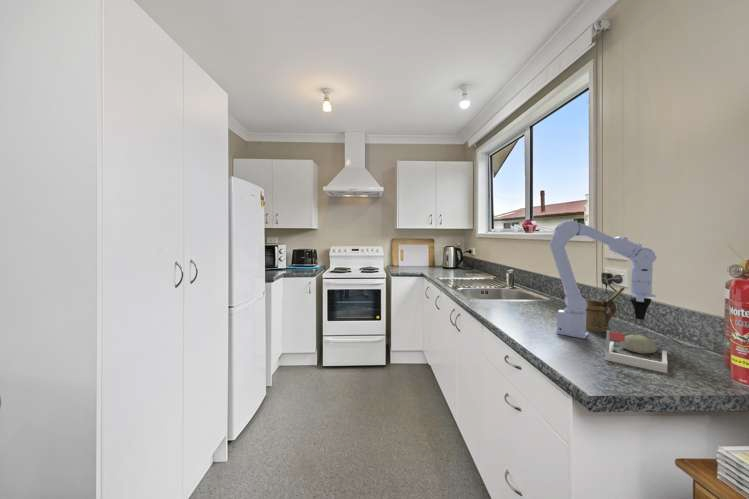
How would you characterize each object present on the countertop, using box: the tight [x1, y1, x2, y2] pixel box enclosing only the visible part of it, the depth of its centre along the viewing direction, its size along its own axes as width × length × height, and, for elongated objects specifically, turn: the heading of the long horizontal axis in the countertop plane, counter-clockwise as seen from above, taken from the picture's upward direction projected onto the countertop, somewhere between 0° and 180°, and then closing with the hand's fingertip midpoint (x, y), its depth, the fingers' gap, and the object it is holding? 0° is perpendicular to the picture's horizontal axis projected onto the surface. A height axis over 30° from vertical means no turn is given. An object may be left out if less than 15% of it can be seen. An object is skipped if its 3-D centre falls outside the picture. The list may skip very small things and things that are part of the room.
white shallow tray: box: [604, 330, 668, 374], centre depth 97 cm, size 14×14×9 cm
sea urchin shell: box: [620, 334, 658, 355], centre depth 106 cm, size 9×8×8 cm
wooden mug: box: [585, 287, 625, 333], centre depth 128 cm, size 9×14×18 cm, turn 52°
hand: (640, 318), depth 114 cm, fingers closed
